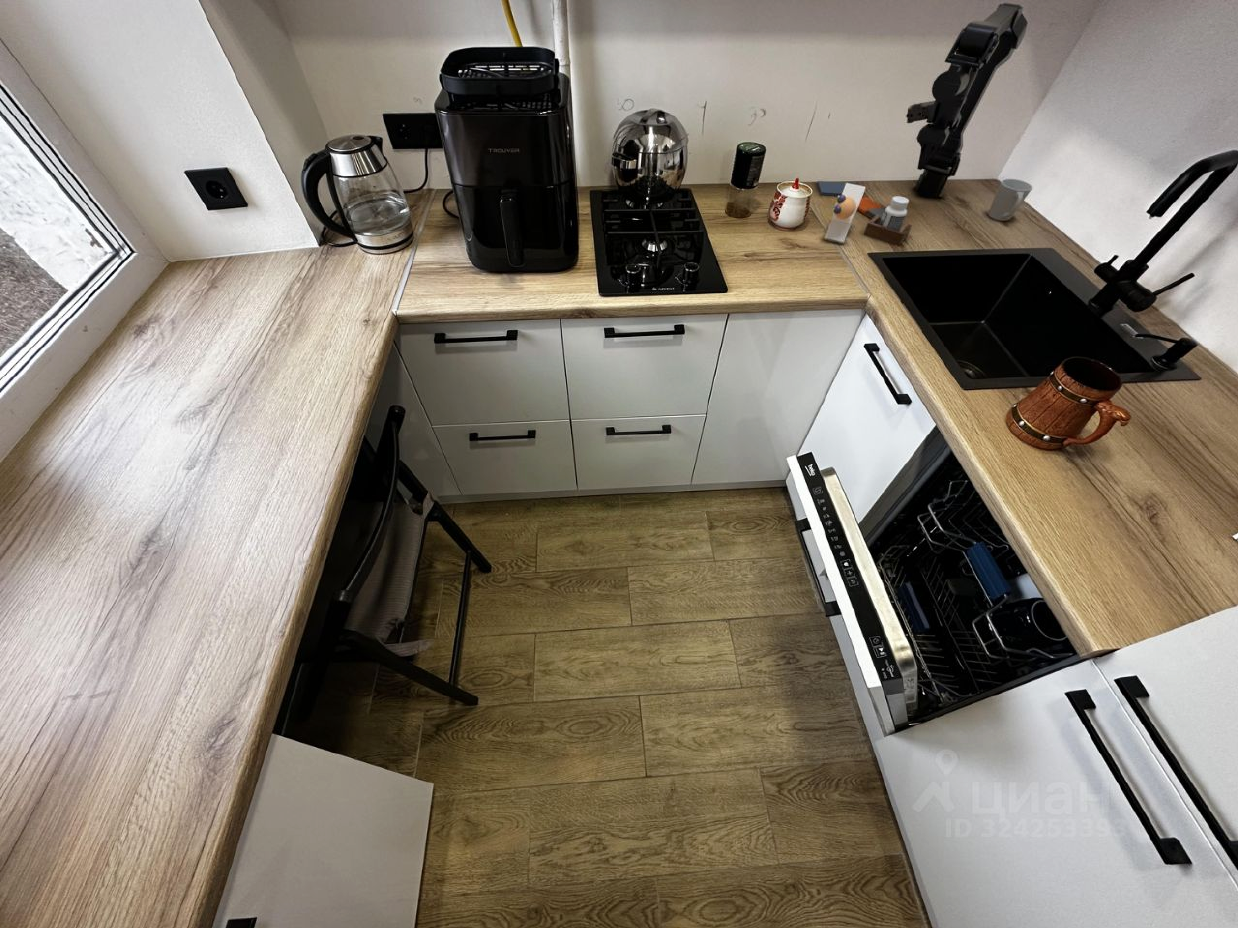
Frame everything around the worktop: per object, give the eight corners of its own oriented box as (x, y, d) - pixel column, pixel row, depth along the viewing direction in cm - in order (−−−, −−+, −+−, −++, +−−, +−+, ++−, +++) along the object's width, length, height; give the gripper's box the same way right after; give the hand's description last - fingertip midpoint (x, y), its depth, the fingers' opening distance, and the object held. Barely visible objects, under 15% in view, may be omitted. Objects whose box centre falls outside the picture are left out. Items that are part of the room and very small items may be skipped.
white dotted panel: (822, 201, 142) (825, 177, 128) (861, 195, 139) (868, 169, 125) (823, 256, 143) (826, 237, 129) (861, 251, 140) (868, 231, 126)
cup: (1008, 211, 148) (1027, 180, 142) (1020, 228, 142) (1040, 195, 135) (980, 209, 149) (997, 177, 142) (990, 225, 143) (1009, 193, 136)
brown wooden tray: (872, 225, 141) (877, 214, 139) (907, 236, 138) (912, 225, 135) (863, 234, 138) (867, 223, 136) (898, 245, 134) (903, 234, 132)
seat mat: (857, 186, 158) (858, 183, 157) (862, 197, 152) (863, 195, 152) (817, 183, 158) (817, 181, 158) (820, 195, 153) (821, 192, 152)
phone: (866, 195, 150) (903, 218, 141) (864, 200, 151) (901, 223, 142) (848, 199, 148) (884, 222, 140) (846, 204, 149) (882, 227, 141)
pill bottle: (901, 235, 138) (916, 201, 131) (888, 241, 136) (903, 206, 129) (884, 227, 141) (898, 193, 134) (872, 232, 139) (885, 198, 132)
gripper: (928, 78, 132) (901, 146, 144) (909, 95, 122) (882, 167, 133) (975, 86, 128) (944, 156, 140) (960, 104, 118) (927, 178, 130)
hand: (923, 164), depth 136 cm, fingers open, 9 cm apart
